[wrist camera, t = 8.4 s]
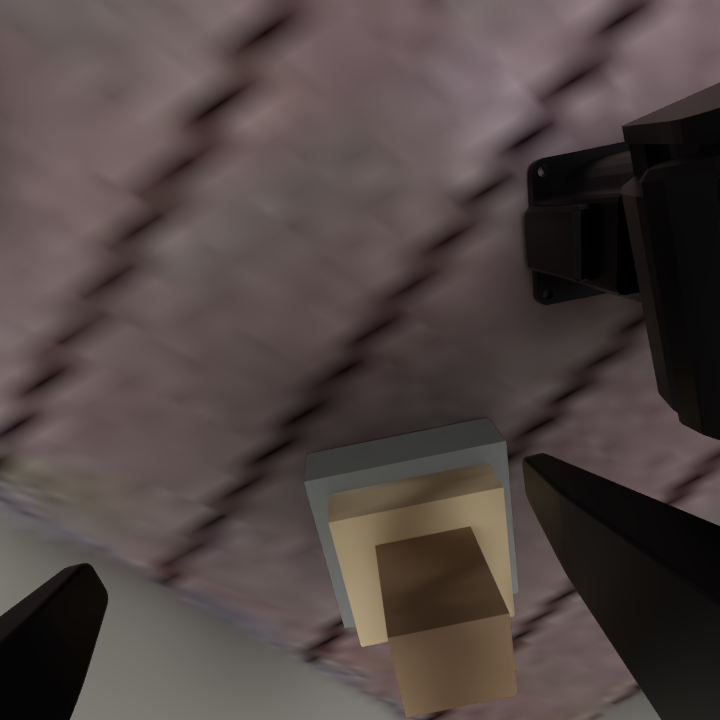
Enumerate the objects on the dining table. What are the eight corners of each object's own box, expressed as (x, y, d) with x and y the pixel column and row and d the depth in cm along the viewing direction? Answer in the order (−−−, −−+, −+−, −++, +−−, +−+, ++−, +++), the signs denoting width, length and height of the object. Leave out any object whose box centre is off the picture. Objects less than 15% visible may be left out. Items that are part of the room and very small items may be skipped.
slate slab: (487, 417, 23) (506, 440, 20) (501, 558, 26) (518, 593, 24) (306, 454, 23) (303, 481, 20) (343, 591, 26) (344, 628, 24)
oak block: (487, 462, 21) (503, 487, 19) (499, 583, 23) (514, 615, 22) (328, 494, 21) (328, 522, 19) (358, 611, 23) (361, 646, 22)
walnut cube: (470, 525, 19) (509, 613, 15) (479, 597, 21) (517, 695, 17) (375, 545, 19) (387, 638, 15) (390, 615, 21) (406, 717, 17)
